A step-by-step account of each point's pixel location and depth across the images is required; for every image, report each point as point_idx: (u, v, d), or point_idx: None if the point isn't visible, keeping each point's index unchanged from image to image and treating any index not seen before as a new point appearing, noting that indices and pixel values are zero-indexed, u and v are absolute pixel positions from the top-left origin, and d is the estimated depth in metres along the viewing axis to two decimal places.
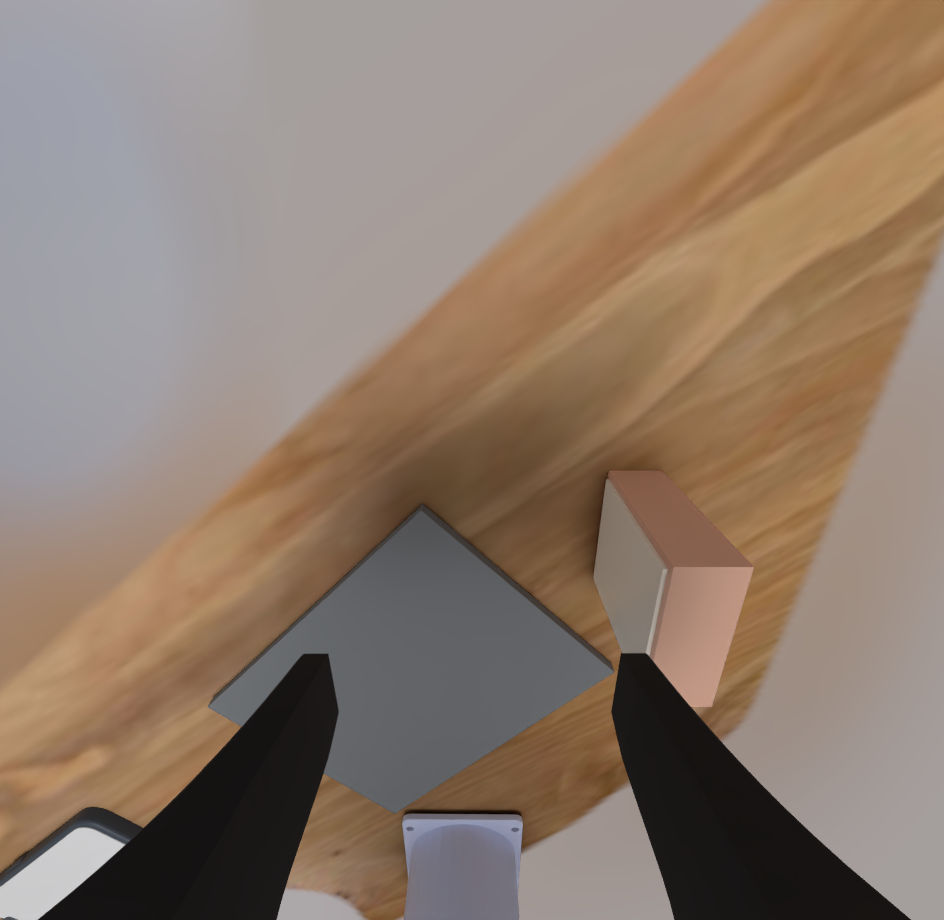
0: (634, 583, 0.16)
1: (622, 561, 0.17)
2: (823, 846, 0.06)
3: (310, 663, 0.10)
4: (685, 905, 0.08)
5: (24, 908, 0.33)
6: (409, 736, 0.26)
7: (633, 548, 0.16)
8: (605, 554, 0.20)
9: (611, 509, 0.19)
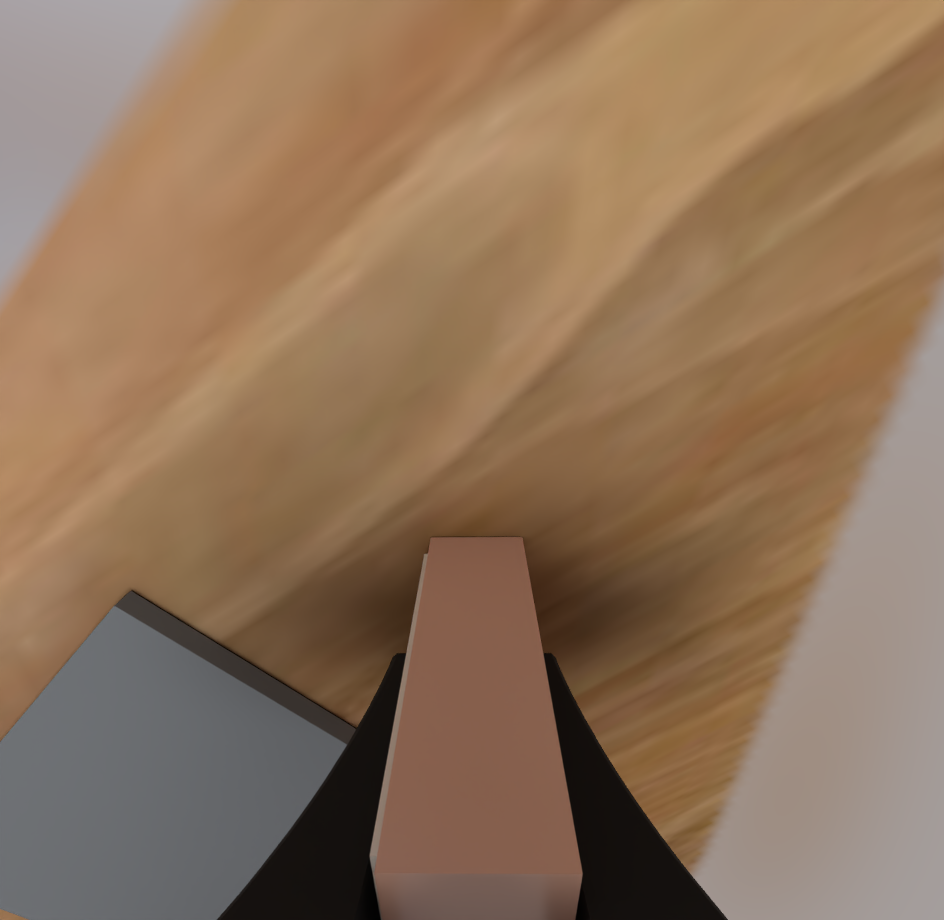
0: None
1: None
2: (663, 845, 0.06)
3: None
4: None
5: None
6: (203, 903, 0.18)
7: None
8: None
9: None
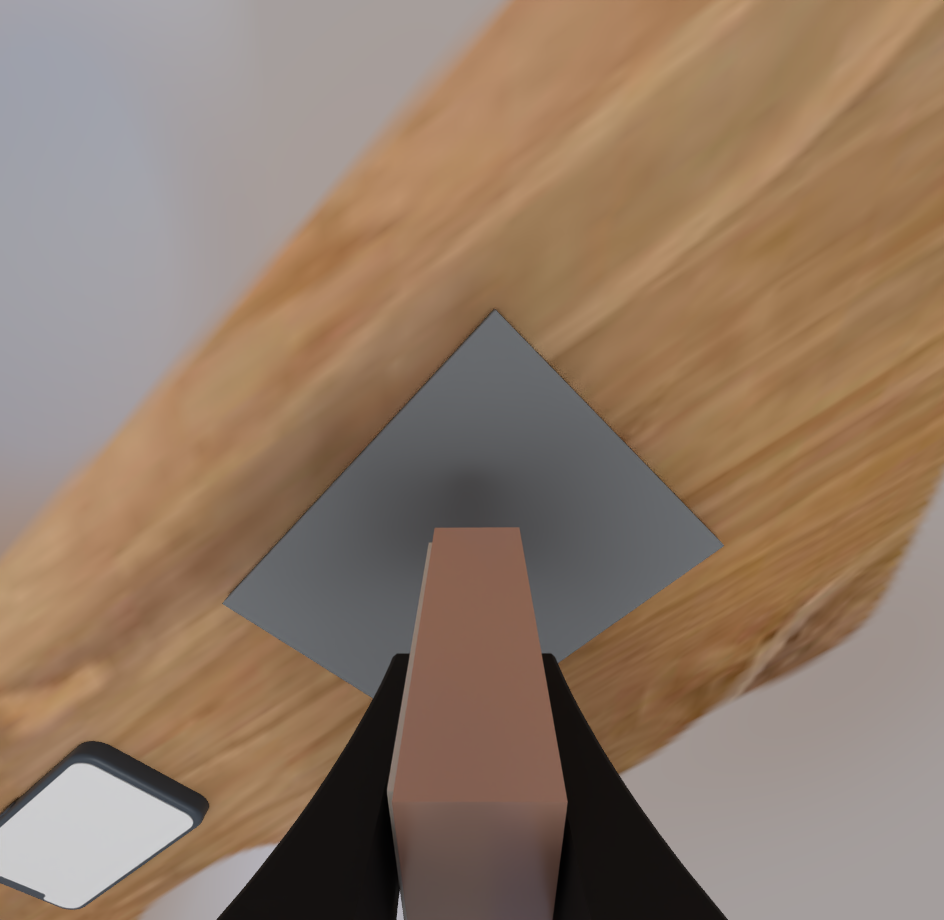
0: None
1: None
2: (663, 845, 0.06)
3: (407, 663, 0.10)
4: (556, 904, 0.08)
5: (15, 866, 0.28)
6: None
7: None
8: None
9: None
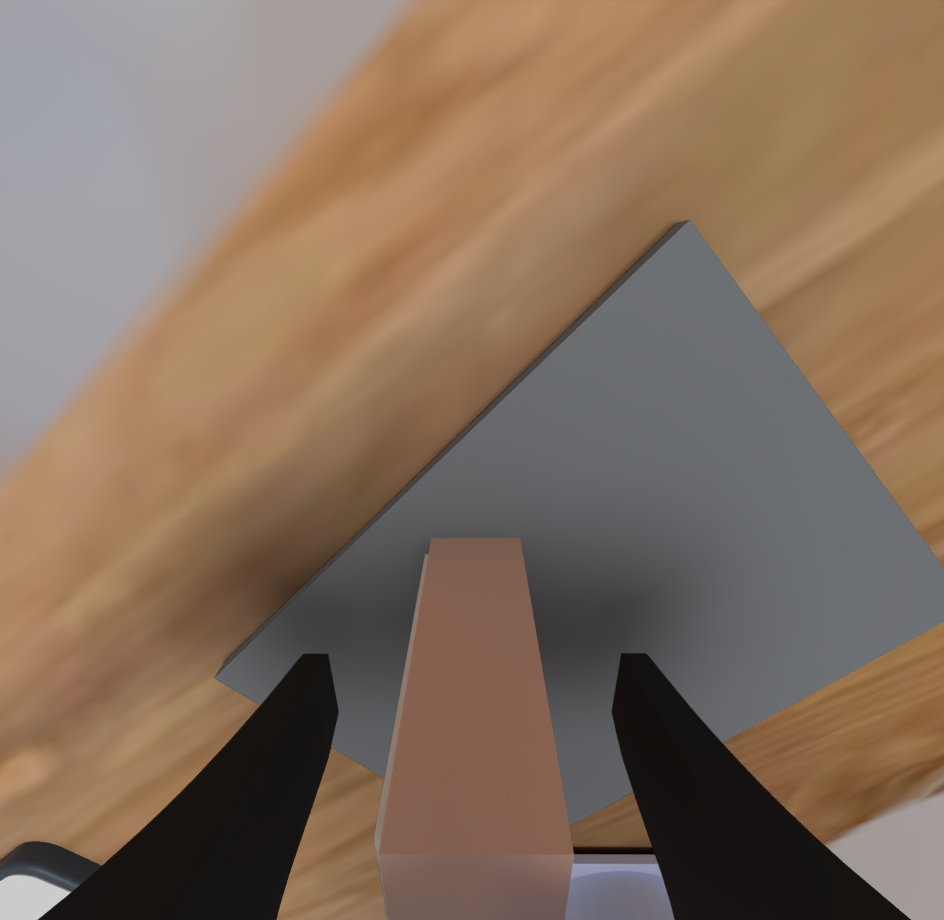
0: None
1: None
2: (823, 846, 0.06)
3: (310, 662, 0.10)
4: (685, 905, 0.08)
5: None
6: (564, 729, 0.15)
7: None
8: None
9: None
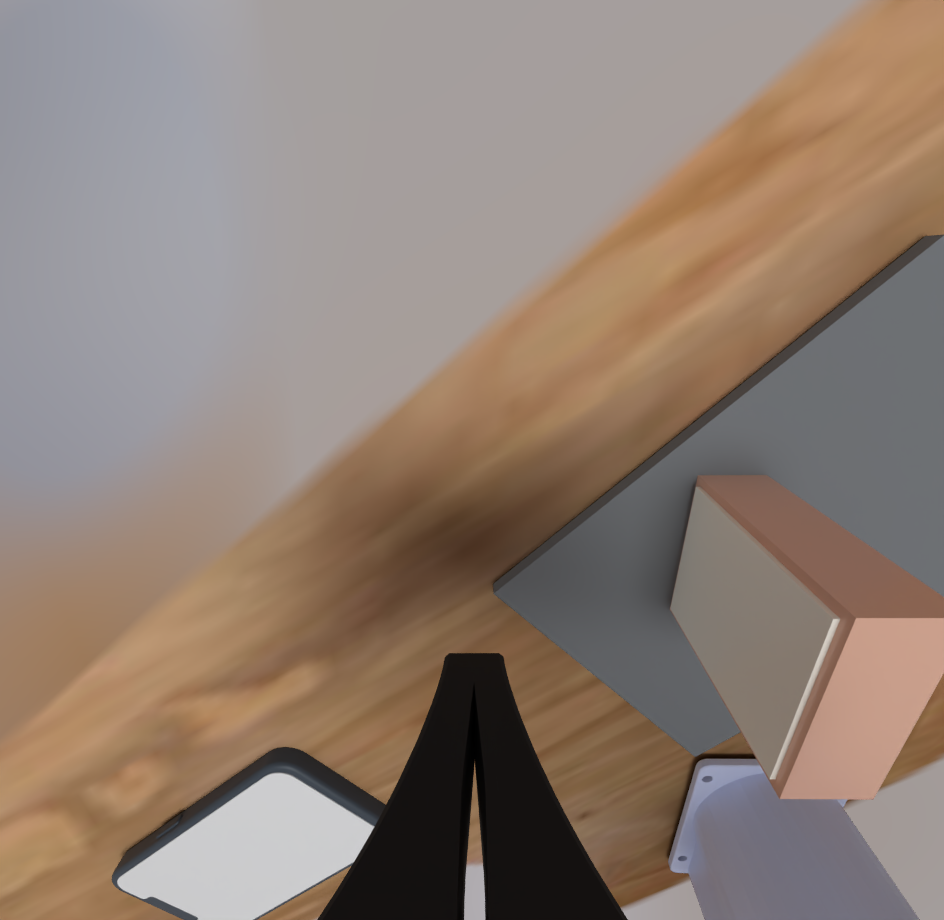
0: (760, 628, 0.12)
1: (732, 595, 0.13)
2: (575, 845, 0.06)
3: (461, 662, 0.10)
4: None
5: (172, 886, 0.25)
6: None
7: (758, 581, 0.12)
8: (695, 581, 0.15)
9: (707, 525, 0.15)
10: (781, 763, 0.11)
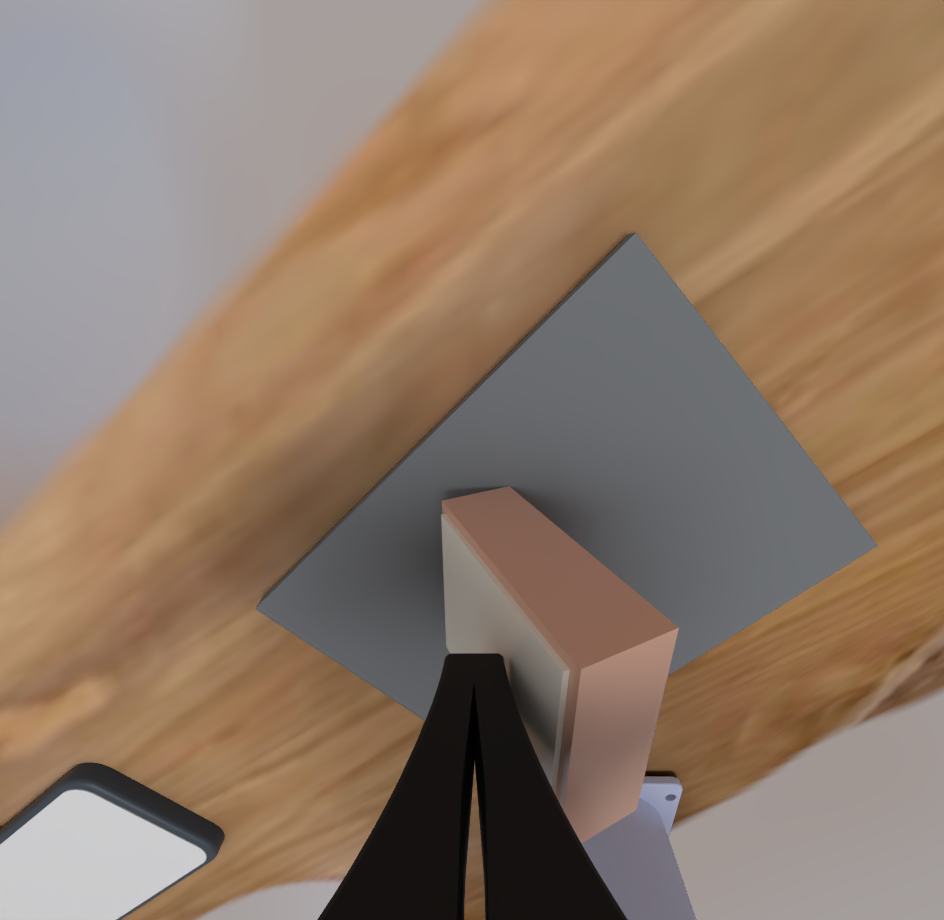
0: (512, 675, 0.10)
1: (486, 637, 0.12)
2: (575, 845, 0.06)
3: (461, 662, 0.10)
4: None
5: None
6: None
7: (502, 623, 0.10)
8: (458, 619, 0.14)
9: (456, 558, 0.13)
10: None
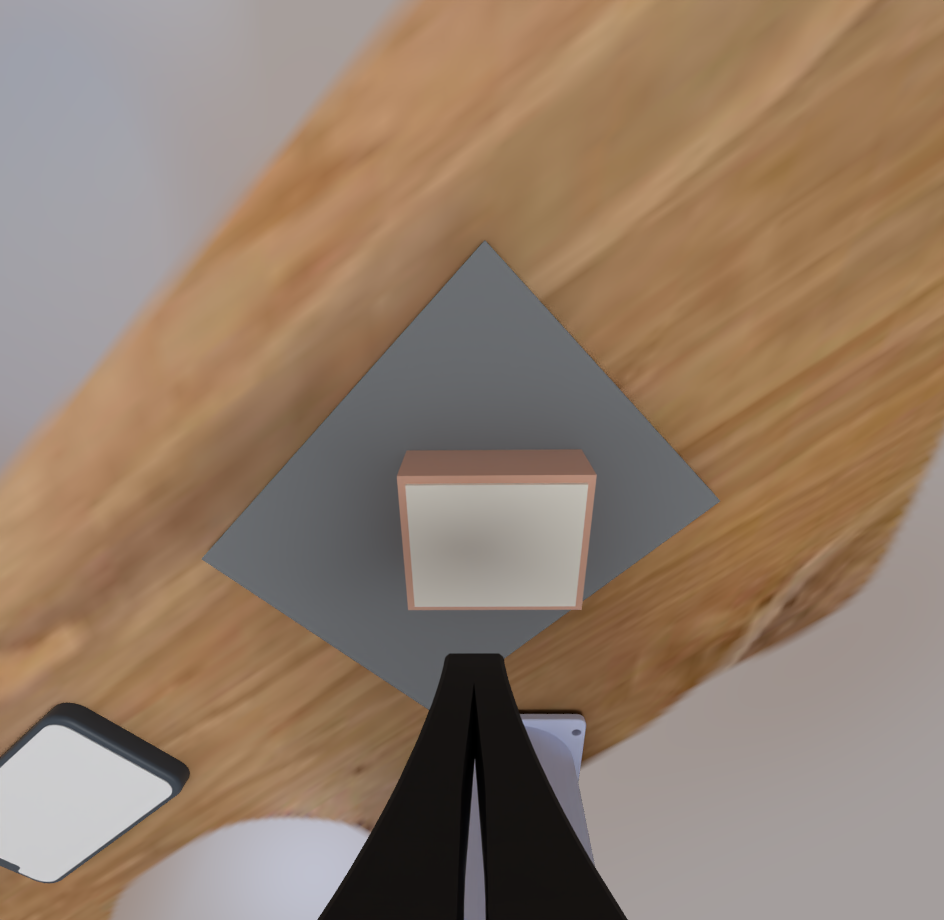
0: (534, 533, 0.16)
1: (496, 534, 0.16)
2: (575, 845, 0.06)
3: (461, 663, 0.10)
4: None
5: None
6: None
7: (519, 506, 0.16)
8: (443, 559, 0.17)
9: (440, 506, 0.16)
10: (576, 590, 0.17)
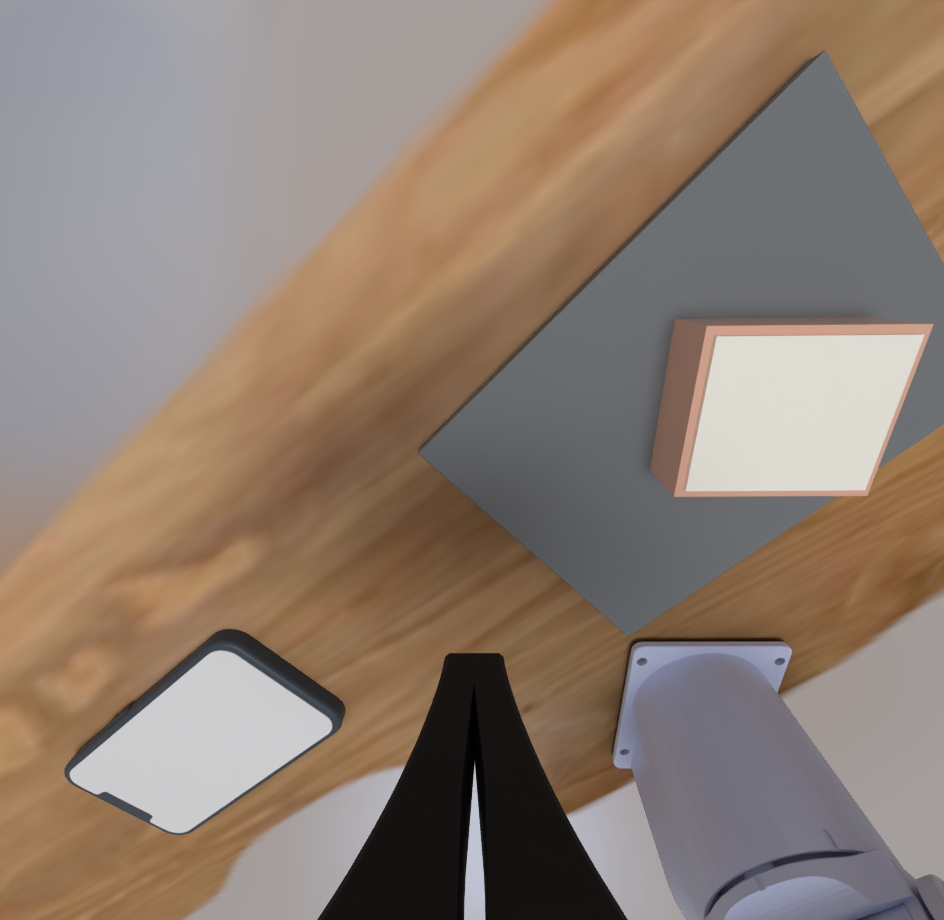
0: (845, 397, 0.14)
1: (802, 399, 0.14)
2: (575, 845, 0.06)
3: (462, 662, 0.10)
4: None
5: (125, 780, 0.26)
6: (683, 503, 0.19)
7: (838, 363, 0.14)
8: (733, 431, 0.15)
9: (749, 363, 0.14)
10: (869, 471, 0.16)
